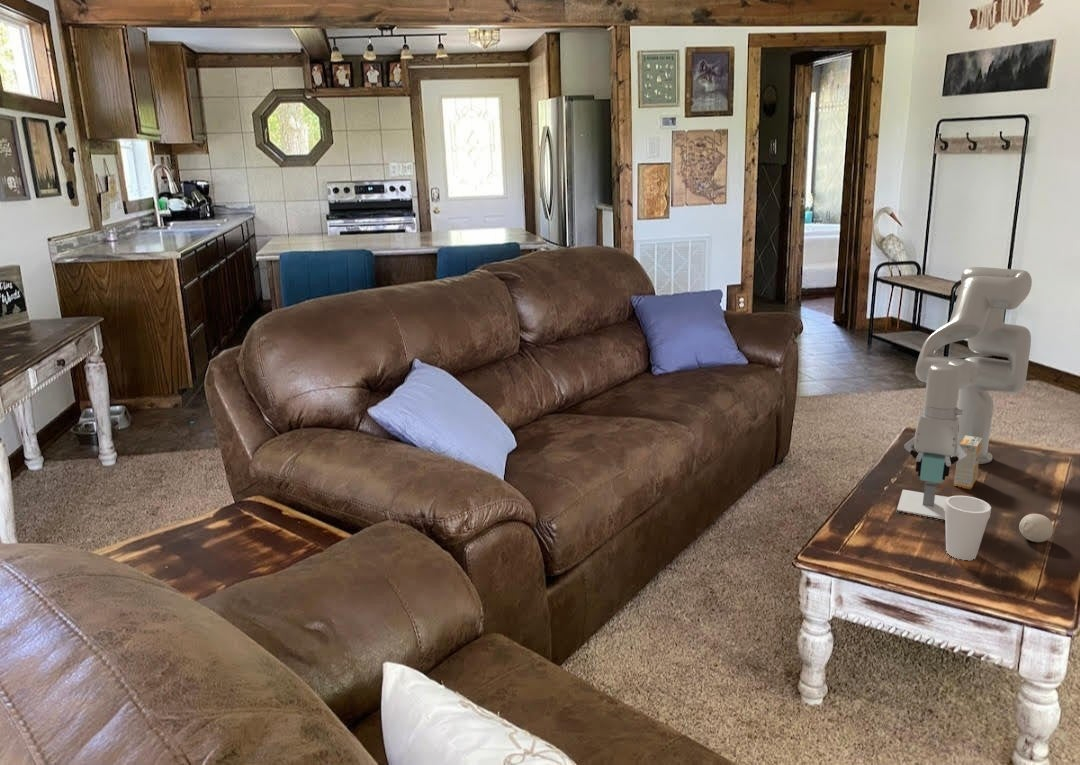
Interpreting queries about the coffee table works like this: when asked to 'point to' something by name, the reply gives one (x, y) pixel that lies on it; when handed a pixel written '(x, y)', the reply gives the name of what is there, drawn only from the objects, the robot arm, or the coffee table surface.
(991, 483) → the coffee table surface
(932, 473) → the teal block
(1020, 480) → the coffee table surface
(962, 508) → the foam cup
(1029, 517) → the off-white rounded piece
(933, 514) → the white square plate
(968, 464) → the supplement box
